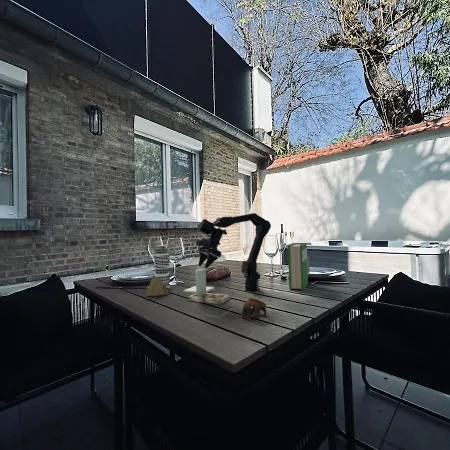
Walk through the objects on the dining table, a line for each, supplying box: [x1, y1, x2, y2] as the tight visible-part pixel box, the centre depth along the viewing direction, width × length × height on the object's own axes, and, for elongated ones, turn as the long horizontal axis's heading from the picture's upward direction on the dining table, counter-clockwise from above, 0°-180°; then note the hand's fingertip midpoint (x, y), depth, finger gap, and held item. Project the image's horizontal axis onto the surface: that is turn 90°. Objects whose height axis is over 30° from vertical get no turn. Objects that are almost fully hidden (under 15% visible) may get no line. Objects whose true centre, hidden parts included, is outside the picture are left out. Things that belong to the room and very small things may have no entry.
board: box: [183, 285, 215, 294], centre depth 158 cm, size 12×12×2 cm
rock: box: [145, 275, 169, 297], centre depth 153 cm, size 11×9×10 cm
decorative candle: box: [153, 244, 171, 289], centre depth 171 cm, size 9×9×25 cm
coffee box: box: [307, 252, 310, 274], centre depth 185 cm, size 9×6×16 cm
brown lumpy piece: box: [240, 297, 267, 321], centre depth 111 cm, size 12×10×8 cm
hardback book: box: [287, 242, 309, 291], centre depth 162 cm, size 18×7×24 cm, turn 157°
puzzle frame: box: [187, 292, 231, 305], centre depth 137 cm, size 17×9×2 cm, turn 64°
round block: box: [195, 268, 207, 297], centre depth 139 cm, size 5×5×14 cm
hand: (202, 266), depth 147 cm, fingers open, 9 cm apart
